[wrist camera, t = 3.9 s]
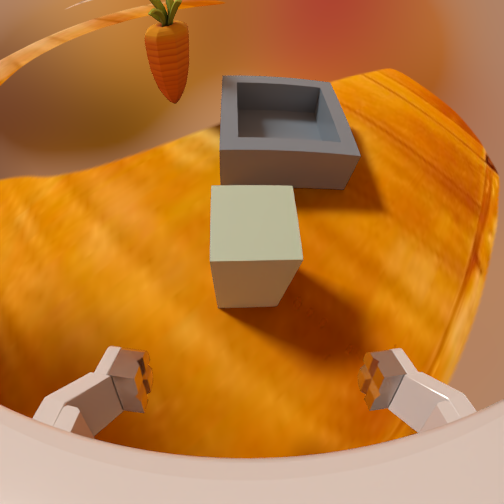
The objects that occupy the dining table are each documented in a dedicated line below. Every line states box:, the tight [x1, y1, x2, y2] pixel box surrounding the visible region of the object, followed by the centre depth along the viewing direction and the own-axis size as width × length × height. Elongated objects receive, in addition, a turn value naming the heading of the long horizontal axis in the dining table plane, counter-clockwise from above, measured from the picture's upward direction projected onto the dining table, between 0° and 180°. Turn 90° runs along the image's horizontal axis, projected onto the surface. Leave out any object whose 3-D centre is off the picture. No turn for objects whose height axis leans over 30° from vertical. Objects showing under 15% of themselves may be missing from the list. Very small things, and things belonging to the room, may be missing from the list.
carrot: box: [145, 0, 189, 103], centre depth 25 cm, size 5×5×15 cm
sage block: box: [210, 185, 303, 308], centre depth 19 cm, size 4×4×9 cm
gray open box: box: [220, 76, 361, 190], centre depth 27 cm, size 12×12×5 cm
